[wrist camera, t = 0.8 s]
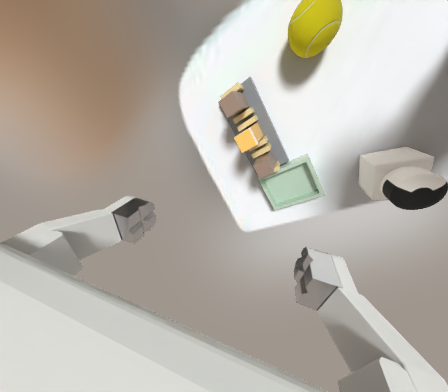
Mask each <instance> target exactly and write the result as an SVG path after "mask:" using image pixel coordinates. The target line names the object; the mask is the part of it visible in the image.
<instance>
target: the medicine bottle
mask: <svg viewBox="0 0 448 392" xmlns="http://www.w3.org/2000/svg"><path fill="white" fill-rule="evenodd" d="M433 163H434V157H433V156H431V155H428V154H425V153H423V152H420V151H417V150H414V149H412V148H409V147H400V148H395V149H389V150H384V151H378V152H373V153H367V154H362V155H360V163H359V186H360V187H361V188H362V189H363V190H364V192H365V193H366V194H367V195H368V196H369V197H370V198H371V199H372V200H373V201H377V200H390V201H391V202H392V203H393V204H394V205H395V206H397V207H399V208H402V209H406V210H417V209H423V208H427V207H430V206H432V205H434V204H436V203H437V202H439V201H440V200H441V199H442V198H443V197H444V196H445V195H446V193H447V190H448V183H447V181H446V180H445V179H444V178H443V177H441V176H439V175H437V174H435V173H432V172H431V171H432V167H433Z"/></svg>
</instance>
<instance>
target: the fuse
mask: <svg viewBox="0 0 448 392" xmlns="http://www.w3.org/2000/svg"><path fill="white" fill-rule="evenodd" d="M262 136H263V133H262V131H261V129H260V127H259V125H258V123H255V124H254V125H252V126H251V127H249V128H247V129H246V130H244V131H243V132H242V133H240V134H239V135H237V136H235V137H234V139H235V141H236V143H237V145H238V147H239V148H240V150H241V152H242V153H243V152H245V151H247V150H249V149H251V148H253V147H254V146H256V145H258V142H259V141H260V139H261V138H262Z"/></svg>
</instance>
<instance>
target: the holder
mask: <svg viewBox="0 0 448 392" xmlns="http://www.w3.org/2000/svg"><path fill="white" fill-rule="evenodd" d="M218 103H219V105H220V106H221V108H222V110H223V112H224V114H225V116H226V118H227V119H228V121H229V123H230V125H231V127H232V129H233V131H234V132H235V134H236V136H237V135H239V134H240V133H242V132H243V131H244V130H246V129H247V128H249V127H251V126H252V125H254V124H255V123H258V125H259V127H260V129H261V131H262V133H263V136H262V138H261V139H260V141H259V142H258V145H256V146H254V147H253V148H251V149H249V150H247V151H245V153H246V155H247V157H248V158H249V160H250V162H251V164H252V166H253V168H254V170H255V171H256V173H257V175H258V177H259V178H262V177H265V176H267V175H270V174H272V173H274V172H276V171H278V170H280V165H281V164H284V163H286V162H288V161H289V159H288V157H287V155H286V152H285V150H284V148H283V146H282V144H281V141H280V139H279V137H278V135H277V133H276V131H275V128H274V126H273V124H272V122H271V120H270V117H269V115H268V113H267V111H266V109H265V107H264V104H263V102H262V100H261V98H260V96H259V93H258V91H257V89H256V87H255V85H254V83H253V80H252V78H251V77H249V78H248V79H247V80H246V81H244V82H243V83H242V84H240V83H236V84H235V85H234V86H233V87H232V88H230V89H229V90H228V91H227V92H225V93H224V94H223V95H222V96H221V100H220V101H219V102H218Z"/></svg>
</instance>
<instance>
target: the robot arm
mask: <svg viewBox="0 0 448 392" xmlns="http://www.w3.org/2000/svg"><path fill="white" fill-rule="evenodd" d="M153 210H154V204H153V203H151V202H149V201H145V200H142V199H139V198H135V197H132V196H126V197H124V198H122V199H120V200H119V201H117V202H115V203H114V204H112V205H110V206H108V207H107V208H105V209H103V210H96V211H92V212H87V213H83V214H78V215H74V216H70V217H65V218H61V219H57V220H52V221H48V222H44V223H40V224H38V225H36V226H34V227H32V228H30V229H28V230H26V231H24V232H22V233H20V234H18V235H16V236H14V237H12V238H9V239H8V240H6V241H4V242H1V243H0V392H329V391H327V390H325V389H323V388H320V387H318V386H316V385H314V384H312V383H309V382H307V381H305V380H303V379H300V378H298V377H296V376H294V375H292V374H290V373H287V372H285V371H283V370H281V369H279V368H276V367H274V366H272V365H270V364H267V363H265V362H263V361H261V360H259V359H256V358H254V357H252V356H250V355H248V354H245V353H243V352H241V351H239V350H237V349H234V348H232V347H230V346H228V345H225V344H223V343H221V342H219V341H217V340H215V339H212V338H210V337H208V336H206V335H203V334H201V333H199V332H197V331H195V330H193V329H190V328H188V327H186V326H184V325H181V324H179V323H177V322H175V321H173V320H170V319H168V318H166V317H164V316H162V315H159V314H157V313H155V312H152V311H151V310H148V309H146V308H144V307H142V306H139V305H137V304H135V303H133V302H131V301H128V300H126V299H124V298H122V297H120V296H117V295H115V294H113V293H111V292H108V291H106V290H104V289H102V288H100V287H98V286H95V285H93V284H91V283H88V282H86V281H84V280H82V279H80V278H78V277H76V276H75V275H76V274H77V273H78V272H79V271H81V270H82V267H83V266H82V265H81V263H80V261H79V260H81V259H83V258H85V257H87V256H90V255H92V254H94V253H96V252H98V251H100V250H102V249H104V248H107V247H109V246H111V245H113V244H115V243H118V242H120V241H121V240H124V241H127V242H130V243H133V244H136V243H137V242H138V241H139V240H140V239H141V238H142V237H143V236H144V232H146V231H149V230H150V229H151V228H152V227H153V226H154V224H155V222H156V215H155V213H154V212H153ZM301 254H302V257H301V258H298V259H297V261H296V264H295V268H294V279H295V280H296V282H297V285H296V287H295V295H296V303H299V304H301V305H304V306H307V307H309V308H312V309H314V310H317V313H318V315H319V316H320V318H321V320H322V322H323V323H324V325H325V327H326V329H327V330H328V332H329V334H330V336H331V337H332V339H333V341H334V343H335V344H336V346H337V348H338V350H339V352H340V353H341V355H342V357H343V359H344V360H345V362H346V364H347V366H348V367H349V369H350V371H351V373H349V374H347V375H345V376H343V377H341V378H340V379H339V380H338V385H339V389H340V392H448V386H447V384H446V382H445V380H444V379H443V378H442V377H441V376H440V375H439V374H438V373H437V372H436V371H435V370H434V369H433V368H432V367H431V366H430V365H429V364H428V363H427V362H426V361H425V360H424V358H423V357H422V356H421V355H420V354H419V353H418V352H417V351H416V350H415V349H414V348H413V347H412V346H411V345H410V344H409V343H408V342H407V341H406V340H405V339H404V338H403V337H402V336H401V335H400V334H399V333H398V332H397V330H396V329H395V328H394V327H393V326H392V325H391V324H390V323H389V322H388V321H387V320H386V319H385V318H384V317H383V316H382V315H381V314H380V313H379V312H378V311H377V310H376V309H375V308H374V307H373V306H372V305H371V304H370V303H369V301H368V300H367V299H366V298H365V297H364V296H363V295H360V294H358V292H357V290H356V287H355V285H354V282H353V280H352V277H351V275H350V273H349V270H348V268H347V265H346V263H345V261H344V259H343V258H342V257H339V256H336V255H332V254H327V253H324V252H321V251H317V250H314V249H310V248H307V247H305V248H304V249H303V250H302V253H301Z"/></svg>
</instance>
